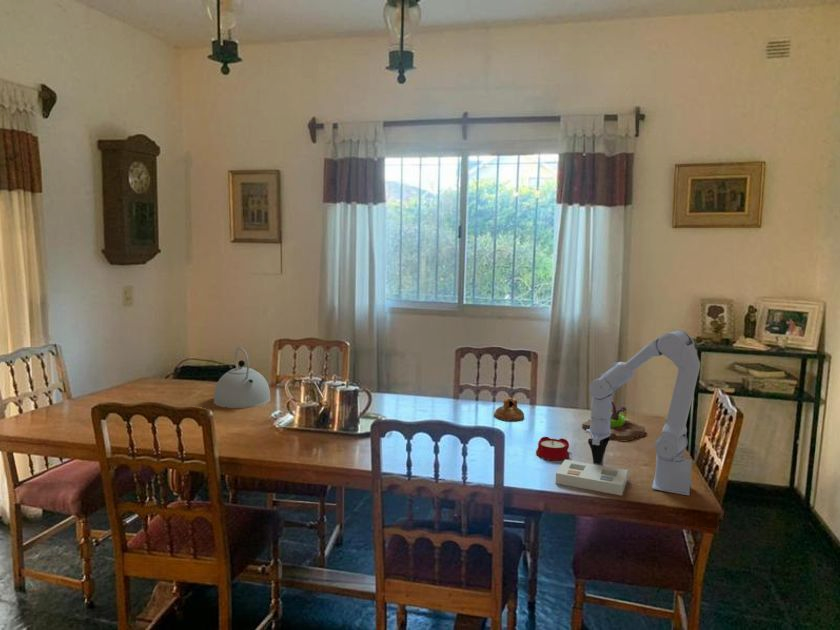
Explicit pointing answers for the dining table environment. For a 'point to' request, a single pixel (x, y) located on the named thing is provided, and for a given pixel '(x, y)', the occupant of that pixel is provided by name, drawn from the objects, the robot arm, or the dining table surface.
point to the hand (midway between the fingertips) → (598, 461)
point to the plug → (601, 462)
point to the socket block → (592, 477)
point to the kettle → (241, 387)
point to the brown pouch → (509, 411)
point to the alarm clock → (552, 449)
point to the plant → (620, 426)
